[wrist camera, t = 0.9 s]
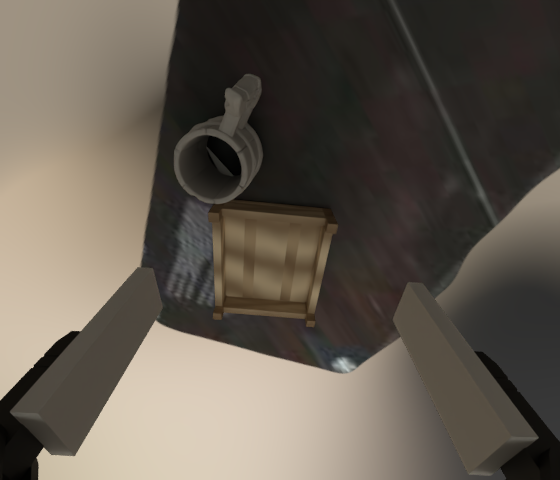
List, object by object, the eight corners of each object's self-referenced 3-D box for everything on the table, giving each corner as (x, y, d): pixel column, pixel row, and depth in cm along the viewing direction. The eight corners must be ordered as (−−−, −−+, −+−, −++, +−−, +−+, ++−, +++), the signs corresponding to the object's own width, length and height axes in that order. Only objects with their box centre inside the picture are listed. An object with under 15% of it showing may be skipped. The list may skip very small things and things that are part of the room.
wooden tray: (218, 198, 32) (208, 212, 28) (330, 208, 33) (338, 224, 28) (220, 296, 40) (213, 319, 36) (310, 303, 41) (313, 327, 36)
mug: (191, 164, 30) (141, 195, 20) (227, 60, 25) (185, 26, 14) (247, 192, 32) (229, 235, 21) (291, 100, 27) (297, 96, 16)
